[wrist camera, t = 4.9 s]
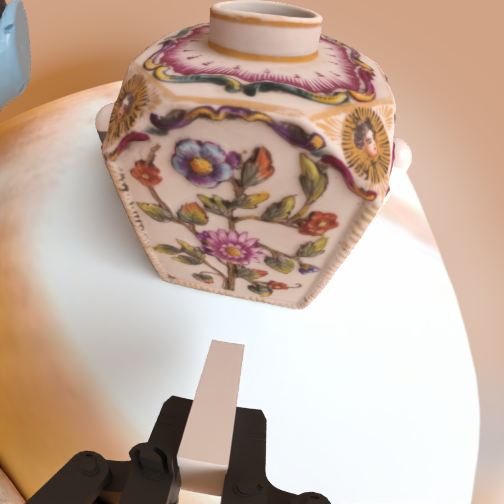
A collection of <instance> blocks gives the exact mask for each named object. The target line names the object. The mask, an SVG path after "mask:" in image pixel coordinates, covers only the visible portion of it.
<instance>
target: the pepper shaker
mask: <svg viewBox="0 0 504 504" xmlns="http://www.w3.org/2000/svg"><path fill="white" fill-rule="evenodd" d="M113 107H114V103H110V104H108V105H105V106H104V107H103V108H101V109H100V111H99V112H98V114H97V116H96V120H95V125H96V129H97V132H98V134H99V137H100V140H101V142H102V144H103V142H104V140H105V138H106V134H107V130H108V126H109V121H110V116H111V113H112V110H113Z"/></svg>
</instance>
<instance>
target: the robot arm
mask: <svg viewBox="0 0 504 504" xmlns="http://www.w3.org/2000/svg"><path fill="white" fill-rule="evenodd" d="M30 71H31V55H30V41H29V31H28V24H27V17H26V12H25V10H24V7H23V3H22V2H21V1H20V0H16V1H11V2H9V3H8V4H6V2H5V0H0V111H1V109H2V108H3V107H4V106H5V105H7V104H8V103H10V102H11V101H12V100H14V99H15V98H17V97H18V96H19V95H21V94H22V93H23V92H24V90H25V89H26V87H27V85H28V82H29V79H30ZM243 352H244V345H242V344H235V343H229V342H223V341H217V340H212V342H211V346H210V349H209V352H208V355H207V358H206V362H205V365H204V368H203V371H202V375H201V378H200V381H199V384H198V388H197V391H196V394H195V397H194V400H190V399H186V398H181V397H177V396H171V397H170V398H169V399H168V400H167V401H166V402H164V404H163V406H162V408H161V411H160V414H159V416H158V418H157V421H156V423H155V426H154V428H153V430H152V433H151V435H150V438H149V440H148V442H146V443H140V444H138V445H136V446H134V447H132V449H131V450H130V451H129V455H130V458H131V460H130V461H112V460H105V459H104V458H103V457H102V456H101V455H100V454H98V453H96V452H93V451H83V452H79V453H78V454H76V455H74V456H73V457H72V458H71V459H70V460H69V461H68V462H67V463H66V464H65V465H64V466H63V467H62V468H61V469H60V470H59V471H58V472H57V473H56V474H55V475H54V476H53V477H52V478H51V479H50V480H49V481H48V482H47V483H46V484H45V485H44V486H43V487H42V488H40V489H39V490H38V491H37V492H36V493H35V494H34V495H33V496H32V497H31V498H30V499H29V500H28V501H27V502H26V503H25V504H178V502H179V499H178V495H179V491H180V487H181V489H183V490H188V491H193V492H198V493H203V494H209V495H215V496H222V497H221V504H331V503H330V501H329V500H328V499H327V498H326V497H325V496H323V495H322V494H319V493H315V492H305V493H302V494H299V495H296V494H292V493H289V492H286V491H282V490H280V489H278V488H276V487H274V486H273V485H272V484H271V483H270V482H269V481H268V479H267V477H266V472H265V465H266V418H265V416H264V414H263V412H262V410H258V409H249V408H241V407H236V405H237V397H238V390H239V382H240V375H241V367H242V359H243Z"/></svg>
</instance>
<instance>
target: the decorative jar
mask: <svg viewBox="0 0 504 504" xmlns="http://www.w3.org/2000/svg"><path fill="white" fill-rule="evenodd" d="M322 23H323V19H322V17H321V16H320V15H319V14H317V13H316V12H313V11H311V10H308V9H305V8H301V7H298V6H294V5H289V4H284V3H278V2H271V1H259V0H239V1H229V2H221V3H217V4H214V5H212V6H211V8H210V23H201V24H197V25H194V26H191V27H188V28H184V29H180V30H177V31H174V32H171V33H169V34H167V35H165V36H163V37H162V38H161V39H159V40H158V41H156V42H155V43H153V44H152V45H150V46H149V47H147V48H146V49H145V50H144V51H143V52H142V53H141V54H140V55H139V56H138V57H137V58H135V60H133V61H132V62H131V64H130V65H129V68H128V70H127V72H126V75H125V78H124V80H123V83H122V87H121V90H120V93H119V96H118V98H117V101H116V102H115V103H114V107H113V110H112V113H111V116H110V121H109V126H108V130H107V134H106V138H105V140H104V142H103V144H102V147H101V149H102V155H103V158H104V161H105V164H106V166H107V168H108V171H109V173H110V176H111V178H112V180H113V182H114V185H115V188H116V189H117V192H118V195H119V197H120V199H121V201H122V204H123V206H124V208H125V210H126V213H127V214H128V217H129V219H130V221H131V223H132V225H133V227H134V230H135V232H136V234H137V236H138V238H139V240H140V242H141V244H142V246H143V248H144V250H145V252H146V253H147V255H148V257H149V259H150V261H151V263H152V264H153V266H154V267H155V269H156V271H157V272H158V274H159V275H160V277H161V278H162V279H163V280H164V281H167V282H172V283H175V284H180V285H184V286H187V287H191V288H195V289H199V290H204V291H208V292H213V293H218V294H222V295H228V296H233V297H238V298H242V299H248V300H253V301H259V302H264V303H270V304H274V305H279V306H285V307H289V308H295V309H304V308H305V307H307V306H308V305H309V304H310V303H311V302H312V301H313V300H314V299H315V298H316V296H317V295H318V294H319V293H320V292H321V291H322V289H323V288H324V287H325V286H326V284H327V283H328V282H329V280H330V279H331V278H332V276H333V275H334V273H335V272H336V271H337V269H338V268H339V266H340V265H341V264H342V263H343V261H344V260H345V259H346V258H347V256H348V255H349V254H350V252H351V250H352V249H353V248H354V246H355V245H356V244H357V242H358V241H359V239H360V238H361V237H362V235H363V234H364V232H365V230H366V229H367V227H368V226H369V224H370V223H371V221H372V220H373V218H374V217H375V215H376V213H377V212H378V210H379V208H380V207H381V205H382V203H383V200H384V199H385V197H386V196H387V194H388V193H389V191H390V186H389V179H390V175H391V172H392V167H393V162H394V159H395V143H394V139H393V133H394V124H395V120H396V116H395V100H394V97H393V95H392V91H391V89H390V86H389V84H388V82H387V77H386V76H385V74H384V73H383V71H382V70H381V69H380V67H379V66H378V64H376V63H375V62H374V61H372V60H371V59H369V58H367V57H366V56H365V55H363V54H361V53H359V52H358V51H356V50H355V49H353V48H352V47H350V46H348V45H346V44H343V43H341V42H339V41H337V40H335V39H333V38H330V37H328V36H325V35H323V34H321V28H322Z"/></svg>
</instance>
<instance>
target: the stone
mask: <svg viewBox="0 0 504 504" xmlns="http://www.w3.org/2000/svg"><path fill="white" fill-rule="evenodd" d="M25 503H26V502H25V500H24V499H23V498H22V496H21V495H20V493H19V492H18V491H17V489H16V488H15V486H14V485H13V484H12V482H11V481H10V479H9V478H8V477H7V476H6V474H5V473H4V472H3V471H2V470H1V468H0V504H25Z"/></svg>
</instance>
